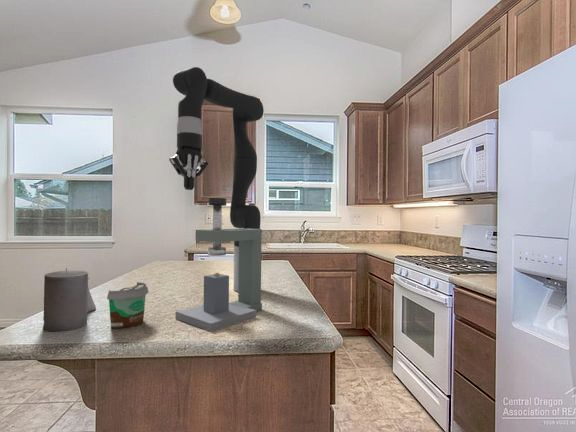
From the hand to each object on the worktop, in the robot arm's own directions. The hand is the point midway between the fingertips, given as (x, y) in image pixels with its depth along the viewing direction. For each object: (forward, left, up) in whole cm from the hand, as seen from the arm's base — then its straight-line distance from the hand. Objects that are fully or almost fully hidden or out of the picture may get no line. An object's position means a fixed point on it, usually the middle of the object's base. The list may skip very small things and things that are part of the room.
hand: (189, 189), depth 105 cm
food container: (+18, +2, -37) cm, 41 cm away
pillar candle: (+30, -10, -37) cm, 49 cm away
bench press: (-4, +14, -37) cm, 40 cm away
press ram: (0, +14, -19) cm, 24 cm away
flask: (+22, -22, -37) cm, 49 cm away
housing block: (0, +14, -35) cm, 38 cm away
